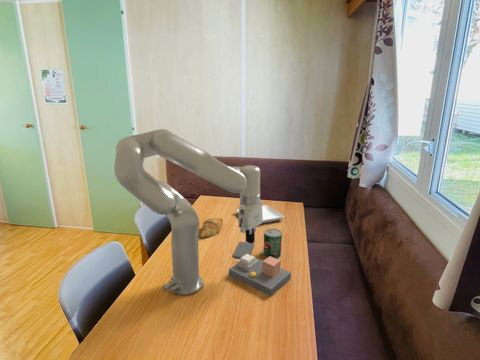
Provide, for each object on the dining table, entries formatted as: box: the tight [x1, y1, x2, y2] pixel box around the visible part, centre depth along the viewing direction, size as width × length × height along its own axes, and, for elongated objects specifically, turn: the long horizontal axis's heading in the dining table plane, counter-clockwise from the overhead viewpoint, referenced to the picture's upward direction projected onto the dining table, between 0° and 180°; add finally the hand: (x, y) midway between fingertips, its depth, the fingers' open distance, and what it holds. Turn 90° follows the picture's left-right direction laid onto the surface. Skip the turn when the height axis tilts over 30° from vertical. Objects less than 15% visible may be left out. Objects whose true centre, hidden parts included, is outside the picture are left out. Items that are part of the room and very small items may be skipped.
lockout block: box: [262, 256, 282, 277], centre depth 120 cm, size 5×5×5 cm
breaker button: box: [240, 254, 256, 266], centre depth 125 cm, size 4×4×2 cm
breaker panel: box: [228, 257, 292, 297], centre depth 122 cm, size 14×20×5 cm
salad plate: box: [236, 204, 285, 225], centre depth 180 cm, size 21×21×3 cm
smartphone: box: [232, 241, 255, 259], centre depth 143 cm, size 8×1×15 cm
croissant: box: [200, 217, 224, 238], centre depth 162 cm, size 21×10×8 cm, turn 158°
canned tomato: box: [262, 228, 283, 260], centre depth 138 cm, size 8×8×11 cm
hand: (250, 241), depth 123 cm, fingers closed
